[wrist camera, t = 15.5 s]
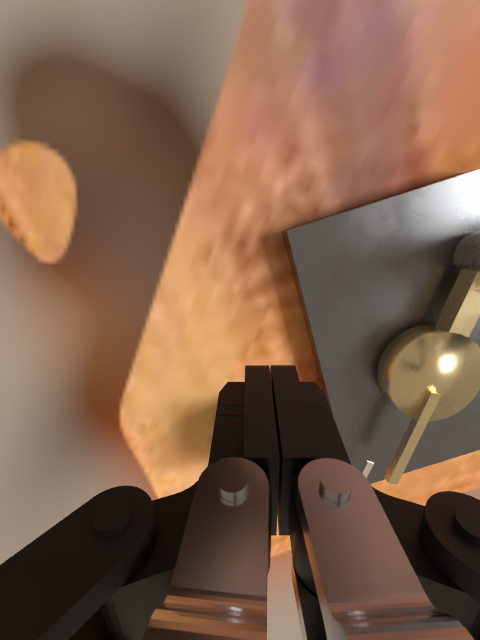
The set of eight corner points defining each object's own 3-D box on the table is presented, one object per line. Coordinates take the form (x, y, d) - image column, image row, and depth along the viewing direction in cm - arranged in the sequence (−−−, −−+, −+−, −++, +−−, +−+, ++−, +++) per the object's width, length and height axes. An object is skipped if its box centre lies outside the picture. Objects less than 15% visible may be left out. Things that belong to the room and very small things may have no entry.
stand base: (282, 230, 22) (287, 231, 21) (462, 173, 22) (481, 168, 21) (344, 476, 29) (352, 490, 27) (484, 433, 29) (499, 444, 27)
